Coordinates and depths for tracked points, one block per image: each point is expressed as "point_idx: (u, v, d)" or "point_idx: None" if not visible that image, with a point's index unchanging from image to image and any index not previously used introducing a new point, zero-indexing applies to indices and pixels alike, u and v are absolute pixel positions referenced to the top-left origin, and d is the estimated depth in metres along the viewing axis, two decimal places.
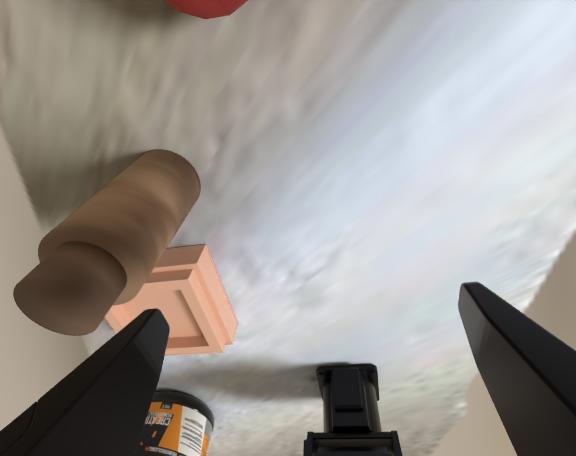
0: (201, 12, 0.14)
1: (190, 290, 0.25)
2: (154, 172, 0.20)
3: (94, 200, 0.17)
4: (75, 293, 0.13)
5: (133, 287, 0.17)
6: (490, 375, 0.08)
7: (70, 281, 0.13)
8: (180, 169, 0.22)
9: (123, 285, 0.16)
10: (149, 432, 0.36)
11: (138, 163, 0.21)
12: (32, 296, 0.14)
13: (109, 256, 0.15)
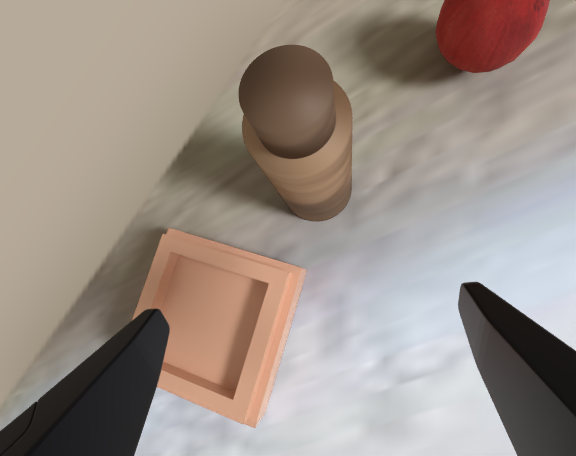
0: (478, 43, 0.19)
1: (279, 290, 0.20)
2: None
3: None
4: (325, 74, 0.12)
5: (323, 157, 0.14)
6: (490, 375, 0.08)
7: (327, 66, 0.12)
8: None
9: (323, 142, 0.14)
10: None
11: None
12: (275, 64, 0.12)
13: (334, 108, 0.14)
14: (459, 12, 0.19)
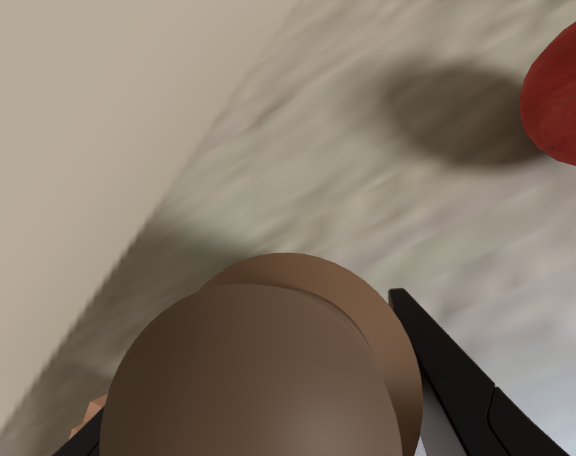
0: None
1: None
2: None
3: None
4: (375, 421, 0.04)
5: None
6: None
7: (377, 369, 0.04)
8: None
9: None
10: None
11: None
12: (212, 350, 0.04)
13: None
14: None
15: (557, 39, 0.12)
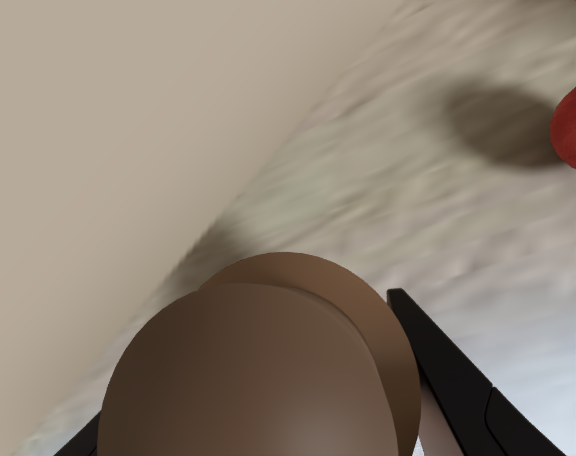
0: None
1: None
2: None
3: None
4: (370, 421, 0.04)
5: None
6: None
7: (374, 369, 0.04)
8: None
9: None
10: None
11: None
12: (209, 349, 0.04)
13: (377, 371, 0.06)
14: None
15: None
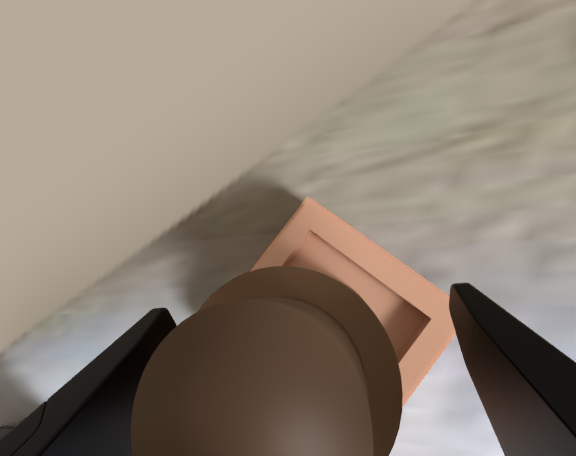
0: None
1: (444, 333, 0.15)
2: None
3: None
4: (351, 412, 0.04)
5: None
6: (479, 375, 0.08)
7: (355, 370, 0.05)
8: None
9: None
10: None
11: None
12: (221, 354, 0.05)
13: (364, 371, 0.07)
14: None
15: None
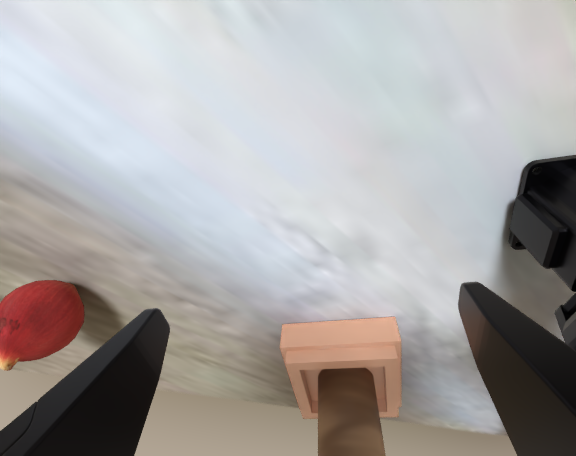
0: (64, 331, 0.25)
1: (300, 364, 0.27)
2: (318, 415, 0.27)
3: None
4: None
5: None
6: (490, 375, 0.08)
7: None
8: (321, 387, 0.28)
9: None
10: None
11: None
12: None
13: None
14: (55, 351, 0.25)
15: None
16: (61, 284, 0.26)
